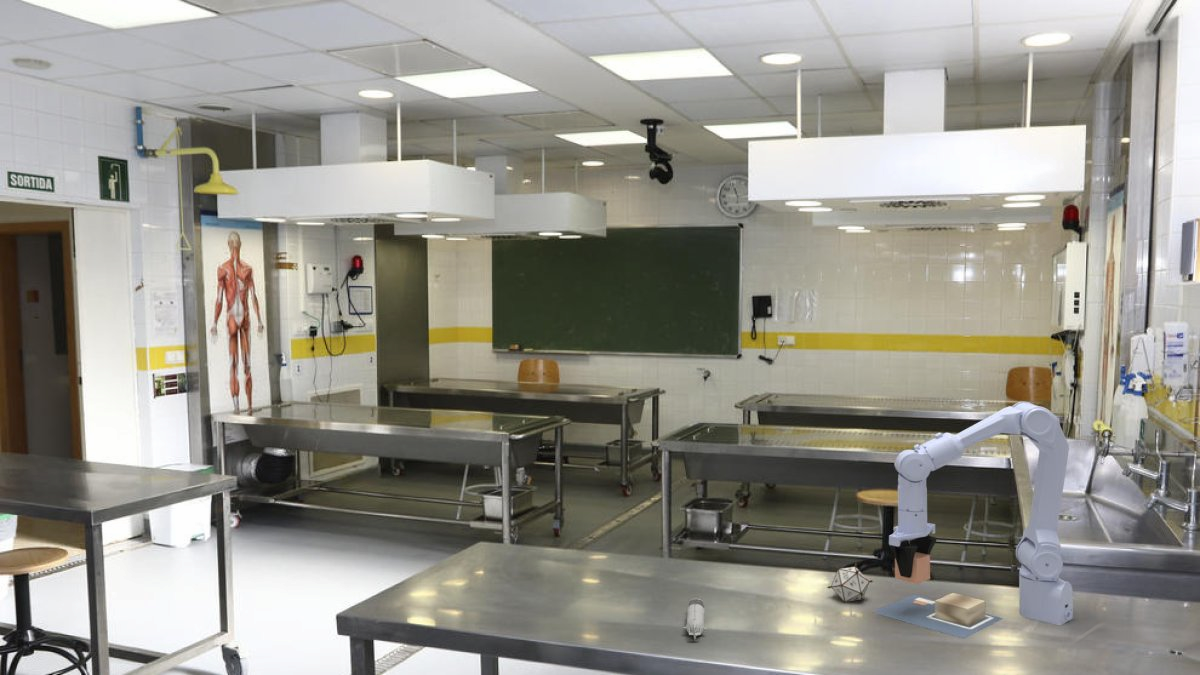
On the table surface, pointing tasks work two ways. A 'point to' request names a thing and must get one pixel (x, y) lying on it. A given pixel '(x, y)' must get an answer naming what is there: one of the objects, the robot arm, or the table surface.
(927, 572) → the terracotta cube
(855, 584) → the game die
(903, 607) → the board
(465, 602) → the table surface
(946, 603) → the beech block
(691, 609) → the torpedo
